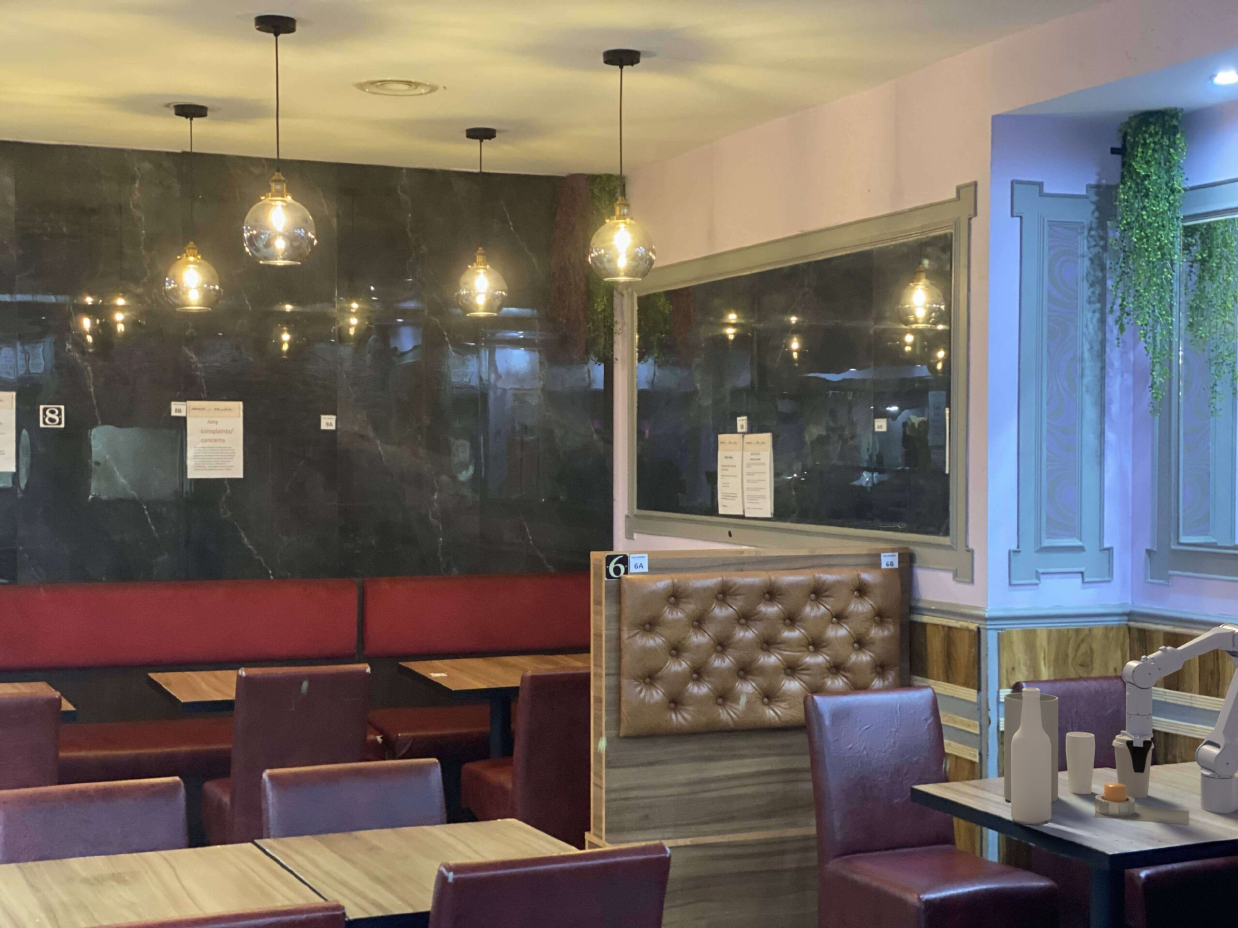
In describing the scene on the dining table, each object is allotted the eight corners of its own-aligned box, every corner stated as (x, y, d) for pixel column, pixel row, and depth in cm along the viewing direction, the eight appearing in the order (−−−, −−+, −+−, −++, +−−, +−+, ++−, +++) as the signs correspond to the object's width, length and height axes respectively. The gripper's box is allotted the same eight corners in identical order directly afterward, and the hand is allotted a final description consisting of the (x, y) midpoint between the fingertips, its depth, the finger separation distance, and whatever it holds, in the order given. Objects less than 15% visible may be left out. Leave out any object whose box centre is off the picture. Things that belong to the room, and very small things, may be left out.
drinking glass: (1096, 799, 347) (1096, 737, 347) (1067, 797, 349) (1067, 736, 349) (1092, 792, 354) (1093, 732, 354) (1064, 791, 355) (1064, 730, 355)
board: (1093, 820, 326) (1093, 816, 326) (1097, 807, 339) (1097, 802, 339) (1188, 829, 319) (1188, 824, 319) (1188, 814, 332) (1188, 810, 332)
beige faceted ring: (1109, 804, 337) (1109, 792, 337) (1142, 812, 330) (1142, 799, 330) (1087, 810, 332) (1087, 797, 332) (1120, 817, 325) (1120, 804, 325)
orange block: (1113, 807, 334) (1113, 781, 334) (1130, 811, 330) (1130, 785, 330) (1099, 810, 332) (1099, 784, 332) (1116, 814, 328) (1116, 788, 328)
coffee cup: (1154, 804, 341) (1154, 741, 341) (1112, 801, 345) (1112, 739, 345) (1153, 796, 351) (1153, 734, 351) (1112, 793, 354) (1112, 732, 354)
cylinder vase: (1066, 799, 347) (1066, 696, 347) (1045, 809, 337) (1045, 702, 337) (1017, 791, 355) (1017, 690, 355) (995, 801, 345) (995, 697, 345)
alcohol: (1034, 814, 333) (1034, 684, 332) (1059, 822, 324) (1059, 690, 324) (1003, 817, 329) (1003, 686, 329) (1027, 826, 321) (1027, 692, 321)
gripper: (1122, 707, 340) (1122, 764, 340) (1119, 717, 326) (1119, 776, 326) (1153, 709, 337) (1153, 766, 337) (1152, 719, 324) (1152, 779, 324)
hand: (1139, 772), depth 332 cm, fingers closed
